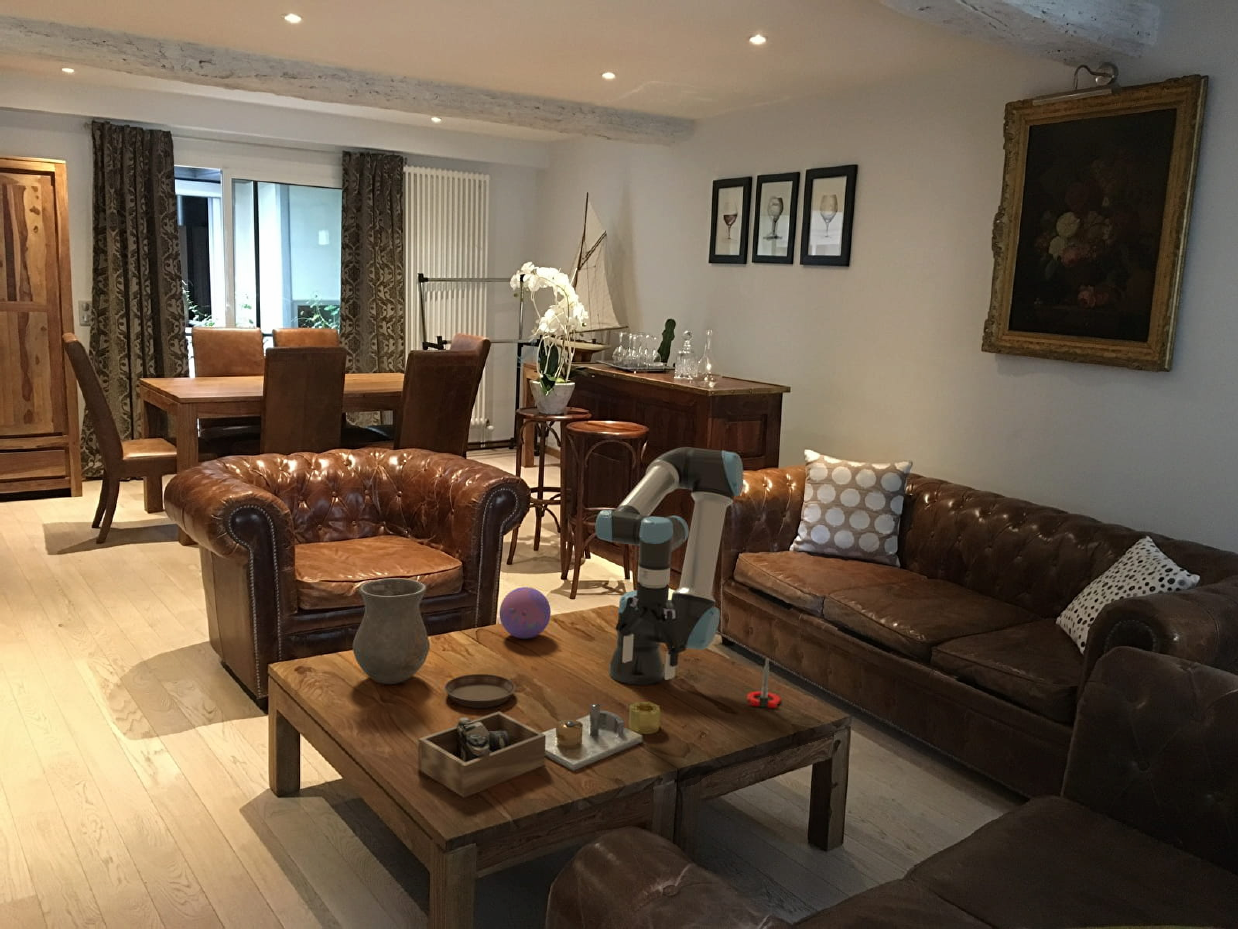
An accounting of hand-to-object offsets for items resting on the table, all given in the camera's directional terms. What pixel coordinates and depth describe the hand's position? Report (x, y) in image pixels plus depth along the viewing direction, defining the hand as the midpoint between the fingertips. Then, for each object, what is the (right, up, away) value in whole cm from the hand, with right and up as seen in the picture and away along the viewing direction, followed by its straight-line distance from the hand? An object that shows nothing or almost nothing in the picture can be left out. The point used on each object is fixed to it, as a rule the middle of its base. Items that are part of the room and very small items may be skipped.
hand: (648, 669), depth 242 cm
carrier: (-15, -16, -7) cm, 23 cm away
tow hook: (+31, -13, +22) cm, 40 cm away
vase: (-66, -7, +23) cm, 71 cm away
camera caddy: (-37, -17, -21) cm, 46 cm away
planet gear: (-1, -14, +3) cm, 15 cm away
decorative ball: (-35, -3, +60) cm, 69 cm away
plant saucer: (-42, -10, +16) cm, 46 cm away
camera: (-36, -17, -22) cm, 45 cm away
